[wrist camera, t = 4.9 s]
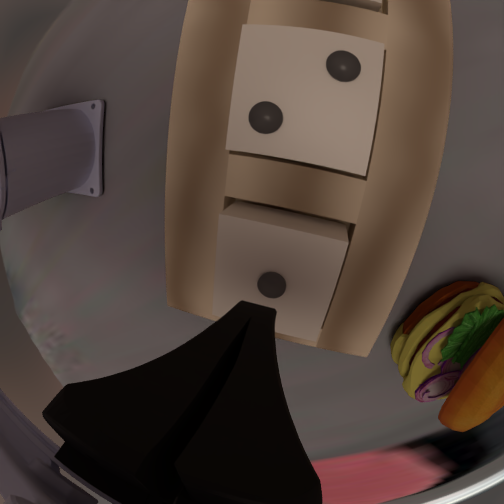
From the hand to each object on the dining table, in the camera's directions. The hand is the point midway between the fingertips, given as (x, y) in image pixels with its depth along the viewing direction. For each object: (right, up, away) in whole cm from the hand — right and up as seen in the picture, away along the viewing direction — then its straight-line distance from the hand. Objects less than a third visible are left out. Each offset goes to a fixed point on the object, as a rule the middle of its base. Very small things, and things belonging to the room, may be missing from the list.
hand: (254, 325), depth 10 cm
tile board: (+3, +11, +4) cm, 12 cm away
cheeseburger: (+16, -3, +7) cm, 17 cm away
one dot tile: (+2, +2, +6) cm, 6 cm away
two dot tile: (+3, +10, +2) cm, 11 cm away
